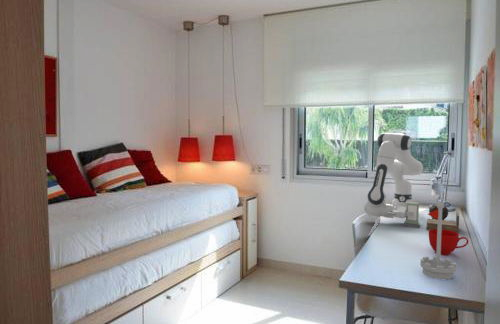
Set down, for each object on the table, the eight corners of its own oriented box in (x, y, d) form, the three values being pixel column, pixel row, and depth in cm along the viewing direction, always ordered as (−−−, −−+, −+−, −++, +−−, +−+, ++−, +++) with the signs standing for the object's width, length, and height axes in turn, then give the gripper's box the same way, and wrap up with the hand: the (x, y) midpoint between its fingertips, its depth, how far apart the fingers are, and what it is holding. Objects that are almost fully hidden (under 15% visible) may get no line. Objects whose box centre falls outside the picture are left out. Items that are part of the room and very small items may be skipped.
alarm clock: (445, 221, 250) (446, 197, 248) (449, 222, 244) (450, 198, 243) (428, 220, 251) (429, 196, 250) (431, 222, 245) (432, 198, 244)
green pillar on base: (404, 223, 242) (405, 201, 242) (420, 224, 238) (420, 202, 237) (403, 226, 234) (404, 203, 234) (419, 227, 230) (420, 204, 229)
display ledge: (427, 224, 239) (427, 209, 238) (457, 227, 231) (458, 211, 230) (426, 229, 226) (427, 213, 226) (458, 232, 219) (459, 216, 218)
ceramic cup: (467, 260, 170) (468, 238, 169) (426, 254, 178) (427, 233, 178) (467, 252, 181) (468, 232, 181) (428, 247, 190) (429, 228, 189)
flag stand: (444, 268, 159) (447, 198, 157) (462, 280, 146) (466, 204, 144) (414, 268, 158) (416, 198, 156) (430, 280, 145) (433, 204, 143)
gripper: (388, 208, 232) (412, 211, 226) (392, 203, 250) (415, 205, 244) (388, 218, 233) (412, 221, 226) (392, 213, 251) (414, 215, 245)
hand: (413, 213), depth 235 cm, fingers closed on green pillar on base, 4 cm apart
